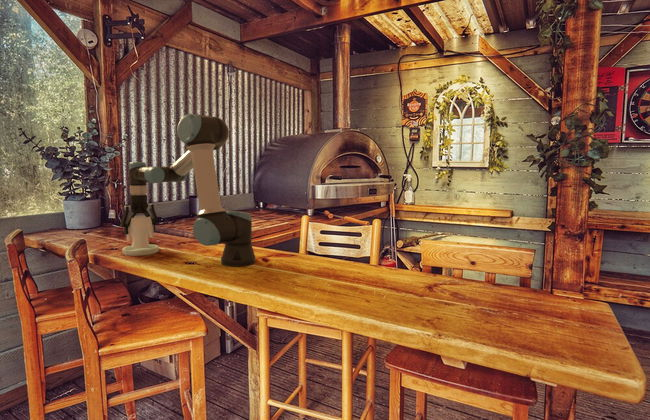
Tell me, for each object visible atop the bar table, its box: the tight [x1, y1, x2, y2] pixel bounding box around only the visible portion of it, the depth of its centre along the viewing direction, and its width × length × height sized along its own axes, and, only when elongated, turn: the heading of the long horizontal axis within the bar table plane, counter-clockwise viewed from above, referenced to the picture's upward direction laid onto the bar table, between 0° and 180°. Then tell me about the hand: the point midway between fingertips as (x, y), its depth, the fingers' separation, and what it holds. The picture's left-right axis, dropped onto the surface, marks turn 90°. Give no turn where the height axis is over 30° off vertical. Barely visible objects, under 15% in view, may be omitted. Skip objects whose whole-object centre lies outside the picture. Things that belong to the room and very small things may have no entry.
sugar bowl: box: [125, 234, 155, 246], centre depth 209 cm, size 12×14×10 cm
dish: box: [121, 243, 160, 257], centre depth 192 cm, size 16×16×2 cm
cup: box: [129, 214, 152, 249], centre depth 191 cm, size 11×11×15 cm
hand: (140, 239), depth 191 cm, fingers open, 11 cm apart
